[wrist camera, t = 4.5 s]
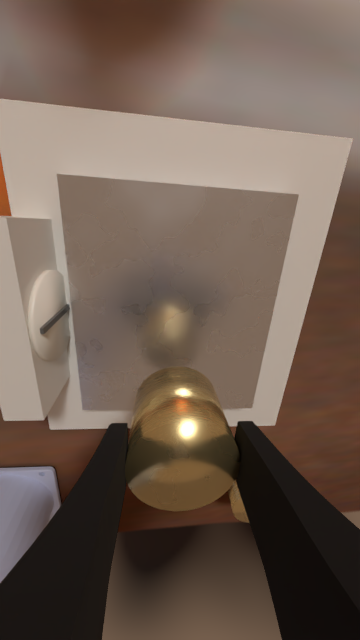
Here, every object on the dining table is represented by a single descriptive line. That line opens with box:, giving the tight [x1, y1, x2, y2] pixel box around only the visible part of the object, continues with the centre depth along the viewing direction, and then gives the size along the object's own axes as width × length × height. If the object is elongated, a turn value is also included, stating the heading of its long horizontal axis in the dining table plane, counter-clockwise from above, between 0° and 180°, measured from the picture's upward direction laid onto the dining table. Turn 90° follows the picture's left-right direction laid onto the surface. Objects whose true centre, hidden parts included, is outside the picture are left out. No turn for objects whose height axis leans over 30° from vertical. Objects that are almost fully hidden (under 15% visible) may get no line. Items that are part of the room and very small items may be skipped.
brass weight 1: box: [125, 366, 240, 511], centre depth 11 cm, size 4×4×4 cm
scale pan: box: [57, 174, 299, 410], centre depth 15 cm, size 12×14×1 cm
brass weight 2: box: [228, 480, 249, 523], centre depth 23 cm, size 4×4×4 cm
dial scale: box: [0, 99, 353, 430], centre depth 15 cm, size 18×20×6 cm
